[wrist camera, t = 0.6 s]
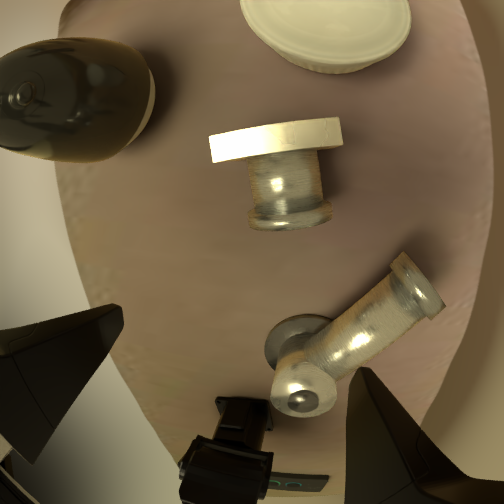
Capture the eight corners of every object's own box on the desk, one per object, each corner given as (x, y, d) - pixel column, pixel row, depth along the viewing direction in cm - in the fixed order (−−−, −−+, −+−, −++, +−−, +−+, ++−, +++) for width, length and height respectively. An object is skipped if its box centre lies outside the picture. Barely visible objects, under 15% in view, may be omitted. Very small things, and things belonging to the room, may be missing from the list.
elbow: (305, 379, 25) (301, 428, 19) (267, 350, 25) (254, 400, 19) (429, 285, 19) (459, 326, 13) (395, 242, 19) (426, 276, 13)
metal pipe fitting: (346, 374, 25) (350, 419, 19) (270, 377, 26) (260, 421, 21) (336, 128, 17) (347, 116, 12) (230, 142, 19) (200, 138, 14)
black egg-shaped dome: (156, 171, 21) (-6, 212, 7) (79, 148, 22) (-50, 171, 8) (192, 59, 17) (52, -17, 3) (105, 55, 18) (-19, 29, 4)
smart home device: (320, 492, 35) (221, 481, 39) (320, 486, 37) (223, 475, 40) (329, 480, 32) (217, 467, 36) (329, 472, 34) (219, 460, 38)
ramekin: (352, -28, 12) (358, -60, 7) (415, 70, 14) (443, 50, 9) (234, 2, 15) (214, -29, 10) (287, 104, 18) (281, 86, 13)
